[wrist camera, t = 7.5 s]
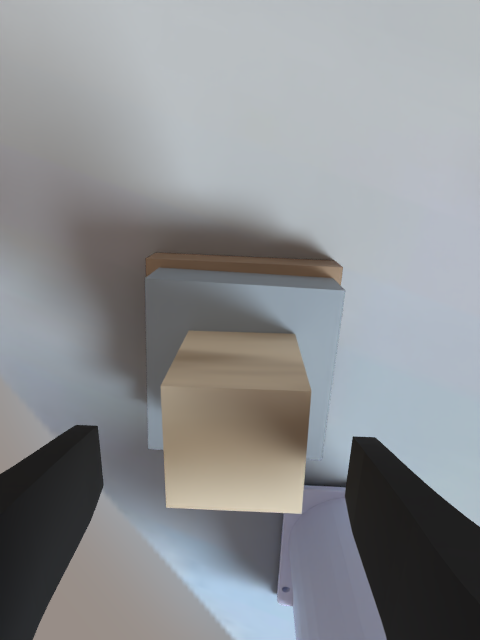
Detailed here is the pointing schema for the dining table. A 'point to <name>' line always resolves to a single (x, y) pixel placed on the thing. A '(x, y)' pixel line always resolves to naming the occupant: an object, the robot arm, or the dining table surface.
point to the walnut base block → (246, 265)
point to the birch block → (236, 423)
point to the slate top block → (243, 328)
